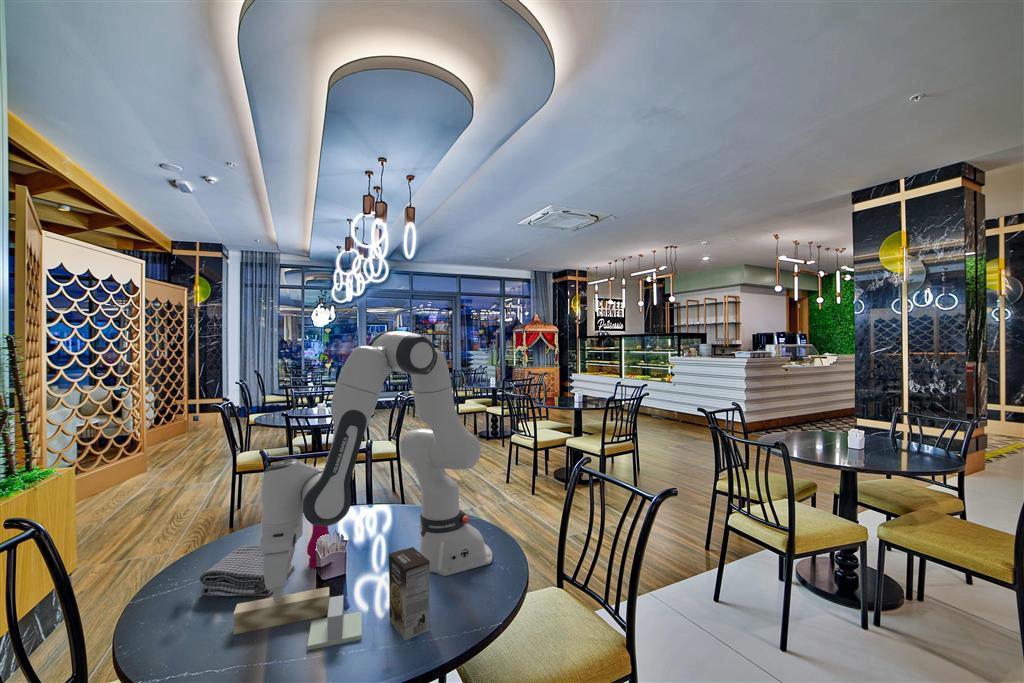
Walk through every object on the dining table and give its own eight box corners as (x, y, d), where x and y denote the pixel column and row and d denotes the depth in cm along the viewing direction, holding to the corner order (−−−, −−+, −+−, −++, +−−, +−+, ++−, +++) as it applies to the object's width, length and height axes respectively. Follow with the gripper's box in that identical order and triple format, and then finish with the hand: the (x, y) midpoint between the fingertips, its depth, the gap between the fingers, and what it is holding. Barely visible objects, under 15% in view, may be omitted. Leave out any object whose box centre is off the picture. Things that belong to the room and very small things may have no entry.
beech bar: (329, 606, 113) (329, 586, 113) (329, 615, 109) (328, 595, 109) (237, 625, 106) (237, 604, 106) (233, 635, 102) (233, 613, 102)
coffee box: (388, 621, 107) (387, 553, 107) (413, 611, 111) (413, 545, 111) (404, 642, 100) (403, 569, 99) (430, 630, 103) (430, 560, 103)
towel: (235, 568, 132) (235, 542, 132) (297, 569, 131) (297, 542, 131) (197, 599, 117) (197, 569, 116) (267, 600, 116) (267, 570, 116)
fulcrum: (361, 615, 109) (361, 590, 109) (361, 639, 100) (361, 612, 100) (311, 624, 106) (311, 599, 105) (307, 650, 97) (307, 622, 97)
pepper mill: (324, 570, 130) (323, 501, 130) (301, 567, 131) (301, 499, 131) (338, 558, 137) (338, 492, 137) (317, 555, 139) (316, 490, 138)
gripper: (274, 515, 116) (274, 570, 116) (258, 550, 96) (257, 615, 96) (301, 513, 118) (301, 566, 118) (291, 546, 98) (290, 610, 98)
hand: (281, 589), depth 107 cm, fingers open, 8 cm apart
